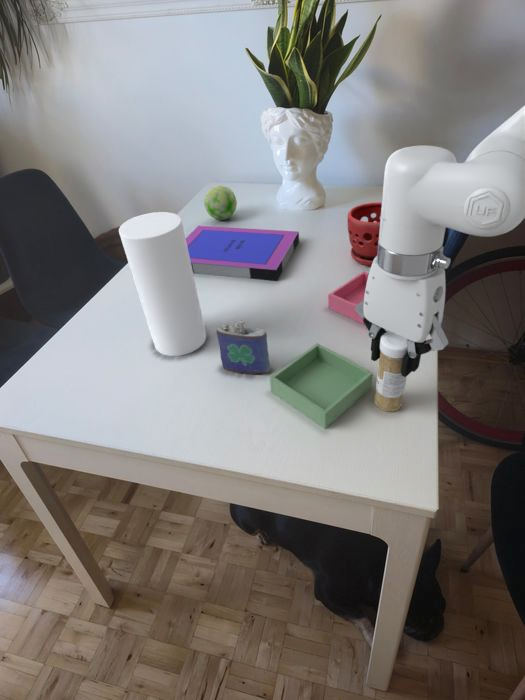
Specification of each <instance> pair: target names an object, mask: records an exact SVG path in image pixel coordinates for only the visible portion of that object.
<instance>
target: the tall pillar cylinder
mask: <svg viewBox="0 0 525 700" xmlns="http://www.w3.org/2000/svg"><path fill="white" fill-rule="evenodd" d="M118 234H119V237H120V240H121V243H122V247H123V250H124V253H125V255H126V256H125V257H126V259H127V262H128V266H129V268H130V272H131V275H132V279H133V282H134V285H135V288H136V291H137V295H138V297H139V301H140V304H141V308H142V310H143V313H144V316H145V320H146V323H147V326H148V328H149V333H150V335H151V339H152V342H153V346H154V348H155V350H156V351H157V352H158V353H160V354H161V355H164V356H168V357H179V356H185V355H189V354H191V353H193V352H196V351H197V350H198V349H200V348H201V347H202V346H203V345H204V344H205V341H206V340H207V333H206V332H207V331H206V327H205V323H204V318H203V317H204V316H203V313H202V308H201V303H200V298H199V295H198V290H197V285H196V281H195V275H194V273H193V271H192V266H191V261H190V256H189V252H188V247H187V242H186V238H187V237H186V234H185V229H184V224H183V220H182V218H181V216H180V215H178V214H176V213H173V212H169V211H168V212H167V211H155V212H149V213H144V214H140V215H136V216H134V217H131V218H129V219H128V220H126V221H125V222H123V223H122V224H121V225H120V226H119V228H118Z"/></svg>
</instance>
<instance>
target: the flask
mask: <svg viewBox="0 0 525 700" xmlns="http://www.w3.org/2000/svg"><path fill="white" fill-rule="evenodd" d="M244 324H245V321H244V320H242V319H241V320H239V321H237V322H235V324H234V326H233V325H231V324H229V323H225V324H220V325H218V326H217V327H216V335H217V341H218V346H219V353H220V359H221V360H220V361H221V364H222V369H224V370H225V371H227V372H230V373H231V372H232V373H235V374H246V375H257V376H260V375H267V374H268V373H269V372H270V370H271V363H270V358H269V357H270V355H269V345H268V333H267V331H266V330H265V329H264V328H260V327H259V328H257V327H256V328H251V327H244Z"/></svg>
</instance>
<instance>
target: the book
mask: <svg viewBox="0 0 525 700" xmlns="http://www.w3.org/2000/svg"><path fill="white" fill-rule="evenodd" d="M185 238H186V242H187V247H188V252H189V256H190V261H191V266H192V271H193V274H197V275H207V276H208V275H209V276H219V277H229V278H240V279H241V278H242V279H250V280H261V281H262V280H263V281H273V282H278V280H279V278H280V276H281V275H282V273H283V271H284V269H285V268H286V266H287V264H288V262H289V261H290V259H291V257H292V255H293V254H294V252H295V250H296V249H297V247H298V245H299V243H300V231H297V230H282V229H281V230H279V229H263V228H244V227H231V226H230V227H228V226H214V225H213V226H211V225H197V226H196V228H194V229H193V231H191V232H190V233H189V234H188V235H187V236H186V237H185Z"/></svg>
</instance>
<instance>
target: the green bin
mask: <svg viewBox="0 0 525 700" xmlns="http://www.w3.org/2000/svg"><path fill="white" fill-rule="evenodd" d="M373 376H374V373H373V372H372V371H370V370H368V369H367V368H365V367H362V366H361V365H359V364H357V363H355V362H353V361H351V360H350V359H348V358H346V357H344V356H343V355H341V354H338V353H337V352H335V351H333V350H331V349H329V348H328V347H326V346H323V345H321V344H320V343H318V342H317V343H315V344H314V345H312V346H311V347H310V348H309V349H307V350H306V351H304V352H303V353H302V354H300V355H299V356H297V357H296V358H295V359H293V360H292V361H291V362H289V363H287V364H286V365H285V366H284V367H282V368H281V369H279V370H278V371H277V372H275V373H274V374H272V375H271V376H270V377H269V384H270V392H271V394H274V395H275V396H276V397H278V398H279V399H281V400H282V401H284V402H285V403H287V404H288V405H290V406H291V407H293V409H295V410H296V411H298V412H299V413H301V414H302V415H304V416H306V417H307V418H309V419H310V420H312V421H313V422H315V423H316V424H317V425H319V426H321V427H322V428H323V429H327V428H328V427H329V426H330V425H331V424H332V423H333V422H335V421H336V420H337V419H338V418H339V417H340V416H341V415H342V414H344V413H345V412H346V411H347V410H348V409H350V407H351V406H353V405H354V404H355V403H356V402H357V401H358V400H359V399H361V398H362V397H363V396H364V395H365V394H367V393H368V391H370V390H371V389H372V387H373Z"/></svg>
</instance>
